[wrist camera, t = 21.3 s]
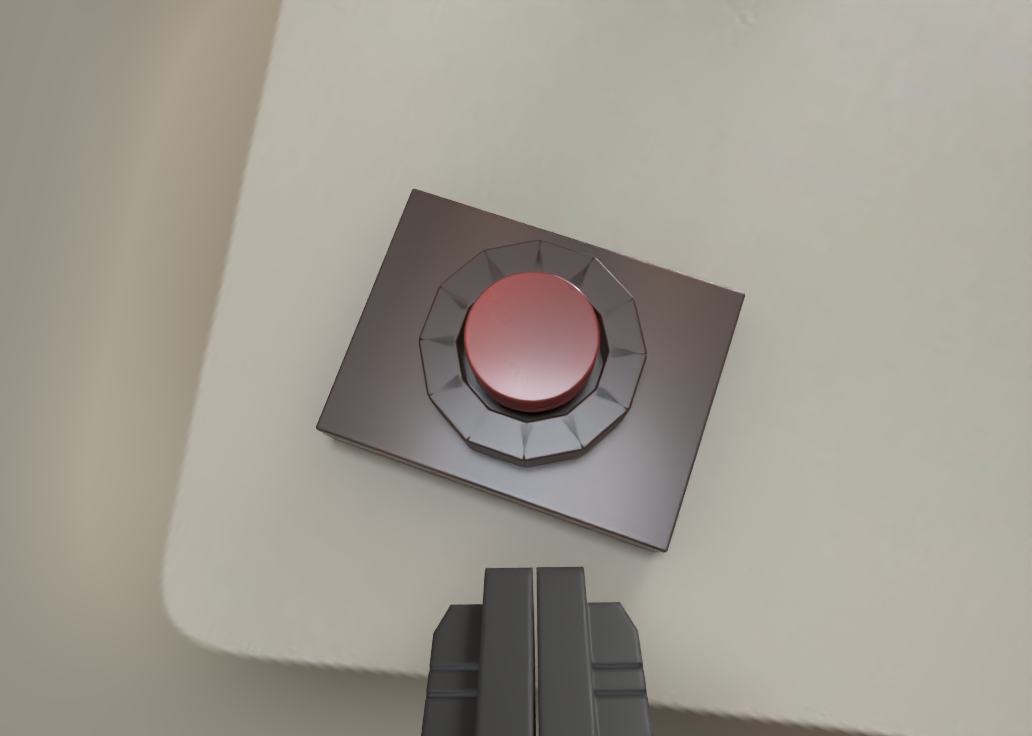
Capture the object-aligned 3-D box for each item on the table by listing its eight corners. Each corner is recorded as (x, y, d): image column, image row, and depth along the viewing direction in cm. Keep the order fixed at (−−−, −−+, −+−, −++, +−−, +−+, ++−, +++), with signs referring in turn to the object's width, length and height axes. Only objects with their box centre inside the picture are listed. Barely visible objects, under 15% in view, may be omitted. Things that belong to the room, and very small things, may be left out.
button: (450, 388, 25) (444, 376, 24) (493, 273, 26) (490, 253, 24) (572, 429, 25) (574, 421, 23) (612, 311, 26) (617, 294, 24)
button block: (331, 437, 29) (298, 420, 25) (421, 212, 30) (403, 163, 27) (657, 553, 27) (676, 553, 24) (731, 311, 29) (760, 274, 25)
